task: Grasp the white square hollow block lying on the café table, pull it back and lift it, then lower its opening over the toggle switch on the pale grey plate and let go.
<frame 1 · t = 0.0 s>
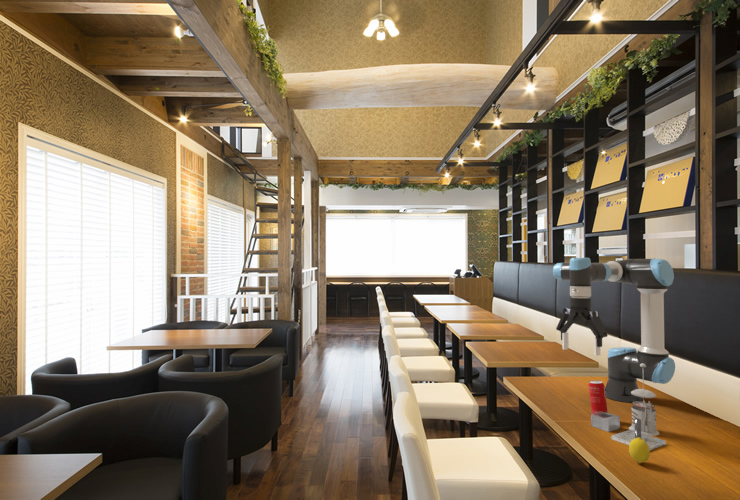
hand: (580, 352, 171), 28 cm above the table, fingers open, 13 cm apart
toggle switch: (638, 441, 154), on the table
lemon: (639, 464, 137), on the table
beverage can: (599, 420, 176), on the table
white square hollow block: (605, 427, 168), on the table
french press: (644, 432, 164), on the table
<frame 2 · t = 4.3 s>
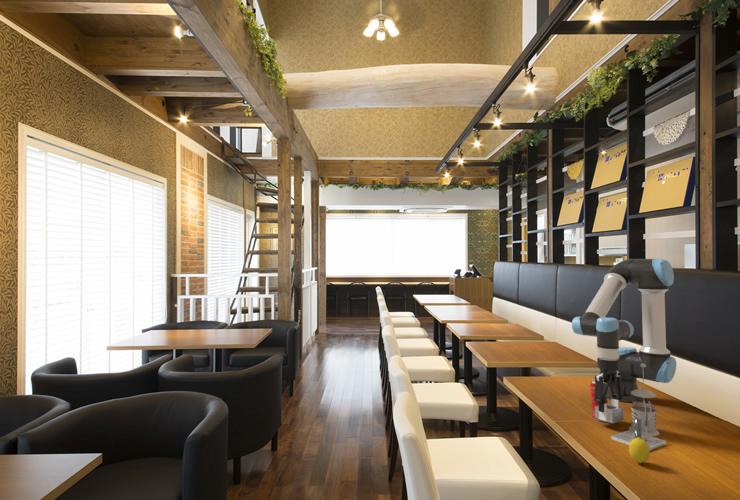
hand: (609, 418, 169), 3 cm above the table, fingers closed on white square hollow block, 7 cm apart
white square hollow block: (609, 418, 169), point 3 cm above the table, touching gripper
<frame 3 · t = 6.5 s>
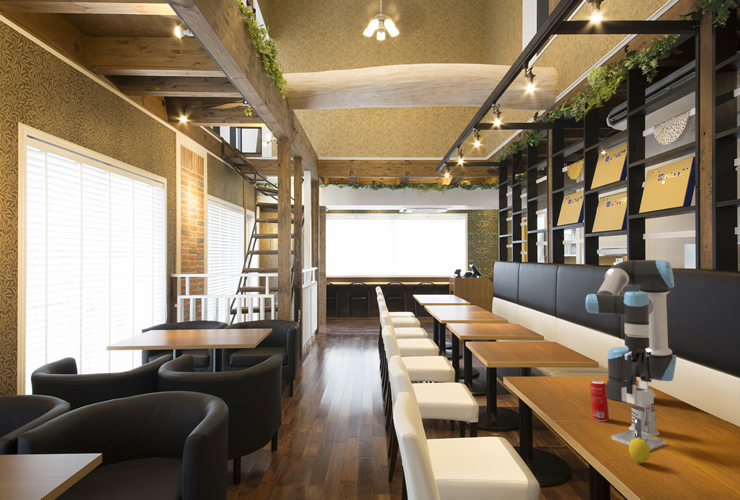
hand: (637, 401, 154), 14 cm above the table, fingers closed on white square hollow block, 7 cm apart
white square hollow block: (637, 402, 154), point 14 cm above the table, touching gripper
everything else where it was.
when the fingers open (3 cm above the table, at t = 9.0 s): white square hollow block drops 1 cm, resting on toggle switch.
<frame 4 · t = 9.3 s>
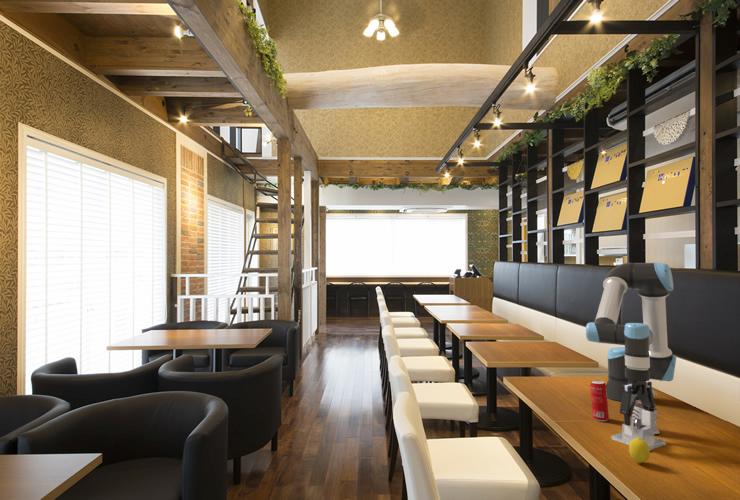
hand: (637, 431, 154), 4 cm above the table, fingers open, 10 cm apart
white square hollow block: (638, 438, 154), point 1 cm above the table, touching toggle switch
french press: (644, 430, 164), on the table, touching hand
everything else where it was.
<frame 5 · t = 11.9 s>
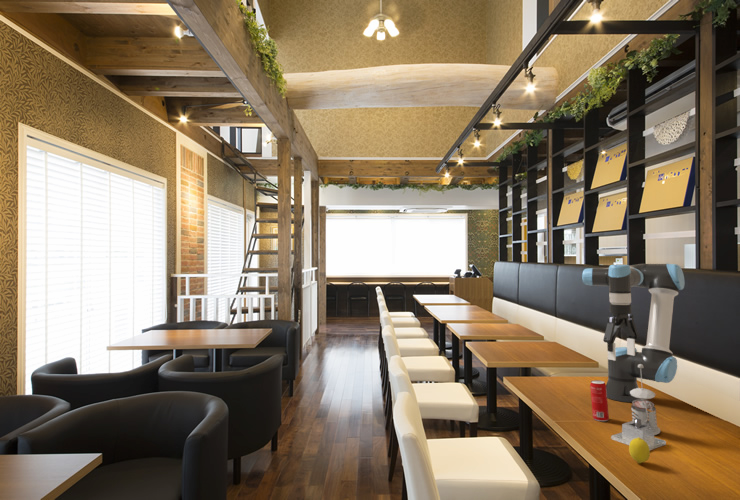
hand: (621, 357, 174), 25 cm above the table, fingers open, 13 cm apart
french press: (645, 430, 163), point 1 cm above the table
everything else where it was.
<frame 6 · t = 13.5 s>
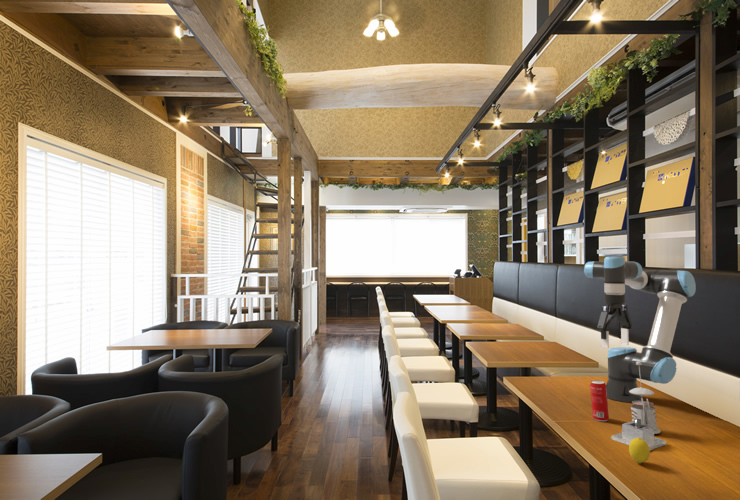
hand: (615, 345, 180), 29 cm above the table, fingers open, 13 cm apart
at the end: white square hollow block 0.2 cm off-centre on the toggle switch, point 1.2 cm above the toggle switch's base; the gripper is holding nothing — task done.
